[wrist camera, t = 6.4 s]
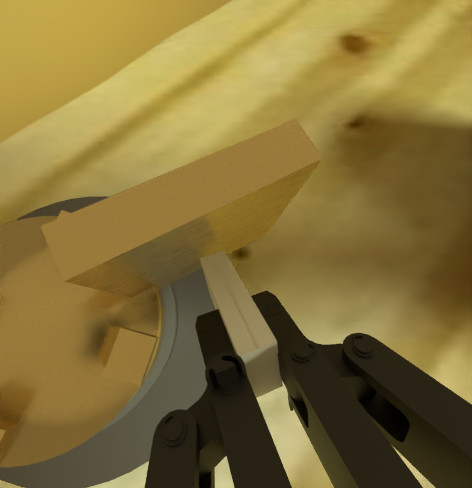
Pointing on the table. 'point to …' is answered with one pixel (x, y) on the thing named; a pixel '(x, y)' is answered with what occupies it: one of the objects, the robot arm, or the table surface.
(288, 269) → the table surface
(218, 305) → the robot arm
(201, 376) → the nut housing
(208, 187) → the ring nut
